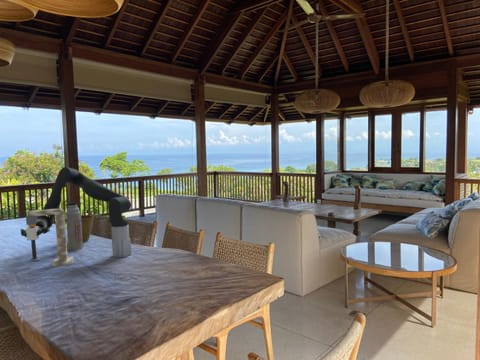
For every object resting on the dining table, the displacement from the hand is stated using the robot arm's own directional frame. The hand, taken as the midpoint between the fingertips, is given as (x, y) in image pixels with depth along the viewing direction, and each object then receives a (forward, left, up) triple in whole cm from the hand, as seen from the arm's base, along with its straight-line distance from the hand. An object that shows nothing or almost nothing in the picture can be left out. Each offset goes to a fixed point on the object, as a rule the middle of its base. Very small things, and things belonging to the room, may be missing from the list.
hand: (31, 234), depth 169 cm
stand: (-4, -8, -17) cm, 20 cm away
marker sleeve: (+2, -2, -3) cm, 4 cm away
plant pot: (+18, -46, -18) cm, 52 cm away
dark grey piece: (+2, -2, -15) cm, 15 cm away
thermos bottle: (+8, -32, -18) cm, 37 cm away
